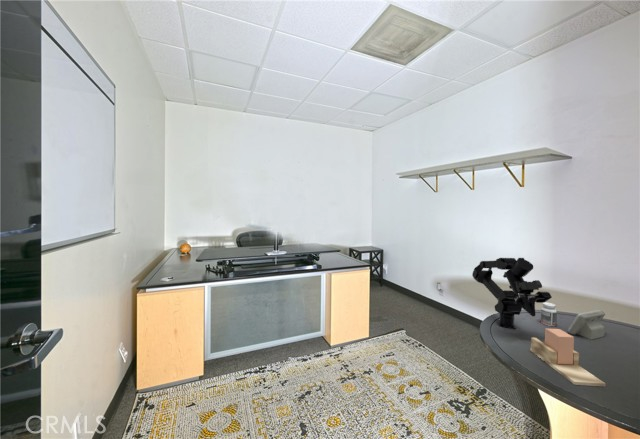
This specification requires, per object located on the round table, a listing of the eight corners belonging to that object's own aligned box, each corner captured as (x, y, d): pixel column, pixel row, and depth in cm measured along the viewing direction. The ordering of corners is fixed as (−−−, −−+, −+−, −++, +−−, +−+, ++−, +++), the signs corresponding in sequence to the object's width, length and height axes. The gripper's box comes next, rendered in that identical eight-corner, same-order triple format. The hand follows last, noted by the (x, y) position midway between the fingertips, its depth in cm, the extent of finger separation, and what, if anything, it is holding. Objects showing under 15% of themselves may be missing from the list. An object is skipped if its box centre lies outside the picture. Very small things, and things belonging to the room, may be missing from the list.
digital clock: (590, 328, 118) (592, 306, 117) (615, 338, 109) (616, 314, 108) (559, 330, 116) (560, 307, 116) (581, 340, 107) (583, 316, 107)
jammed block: (544, 353, 95) (545, 328, 95) (558, 354, 95) (559, 329, 94) (557, 363, 89) (558, 336, 89) (572, 364, 89) (574, 337, 88)
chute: (530, 350, 99) (530, 337, 99) (555, 351, 99) (555, 338, 98) (574, 384, 81) (575, 368, 80) (605, 386, 80) (606, 369, 79)
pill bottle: (551, 322, 124) (552, 302, 124) (559, 327, 119) (560, 307, 118) (538, 320, 126) (538, 301, 125) (544, 325, 120) (545, 305, 120)
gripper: (503, 272, 109) (520, 307, 98) (549, 273, 107) (571, 309, 97) (492, 284, 117) (506, 317, 107) (534, 285, 115) (553, 319, 105)
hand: (533, 315), depth 104 cm, fingers closed
